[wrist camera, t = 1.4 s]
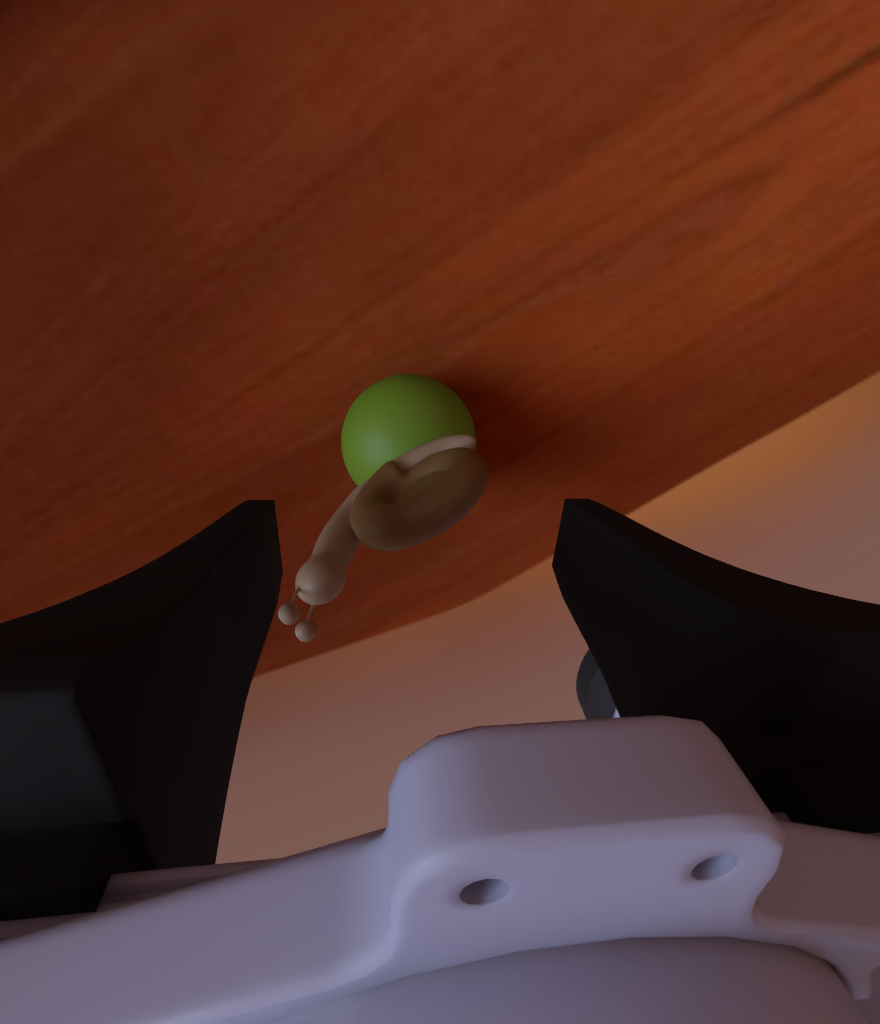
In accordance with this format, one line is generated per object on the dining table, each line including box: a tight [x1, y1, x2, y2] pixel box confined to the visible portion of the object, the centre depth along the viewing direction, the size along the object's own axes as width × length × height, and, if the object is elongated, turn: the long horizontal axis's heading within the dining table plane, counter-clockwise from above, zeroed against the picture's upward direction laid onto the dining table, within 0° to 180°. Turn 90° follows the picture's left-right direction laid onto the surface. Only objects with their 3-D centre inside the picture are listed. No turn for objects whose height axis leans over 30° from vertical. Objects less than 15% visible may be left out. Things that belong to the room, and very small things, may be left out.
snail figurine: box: [278, 374, 488, 642], centre depth 17 cm, size 5×6×12 cm
